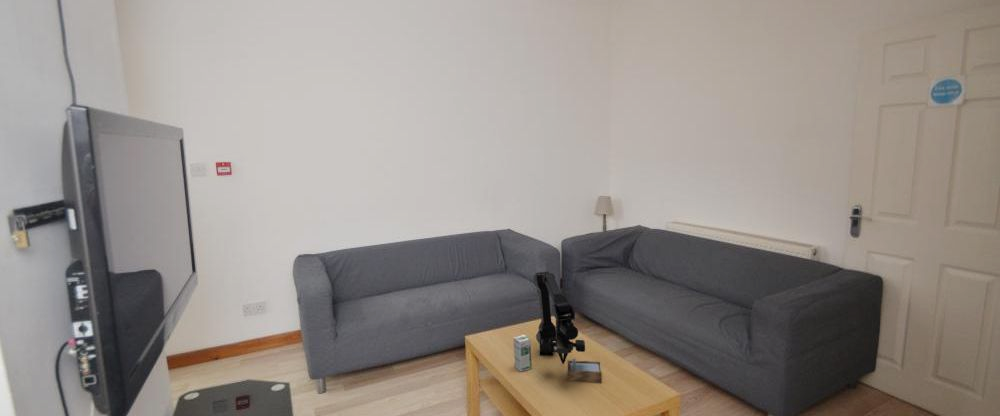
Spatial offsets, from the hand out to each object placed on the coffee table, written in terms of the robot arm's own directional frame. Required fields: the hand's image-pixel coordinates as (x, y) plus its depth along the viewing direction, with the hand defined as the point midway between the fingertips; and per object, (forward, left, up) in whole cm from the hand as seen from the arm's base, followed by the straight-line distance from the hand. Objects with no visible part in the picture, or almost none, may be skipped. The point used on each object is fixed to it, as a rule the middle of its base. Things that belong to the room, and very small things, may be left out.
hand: (563, 363), depth 194 cm
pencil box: (+9, 0, -6) cm, 10 cm away
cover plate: (+9, 0, -2) cm, 9 cm away
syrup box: (-18, +5, -6) cm, 20 cm away
